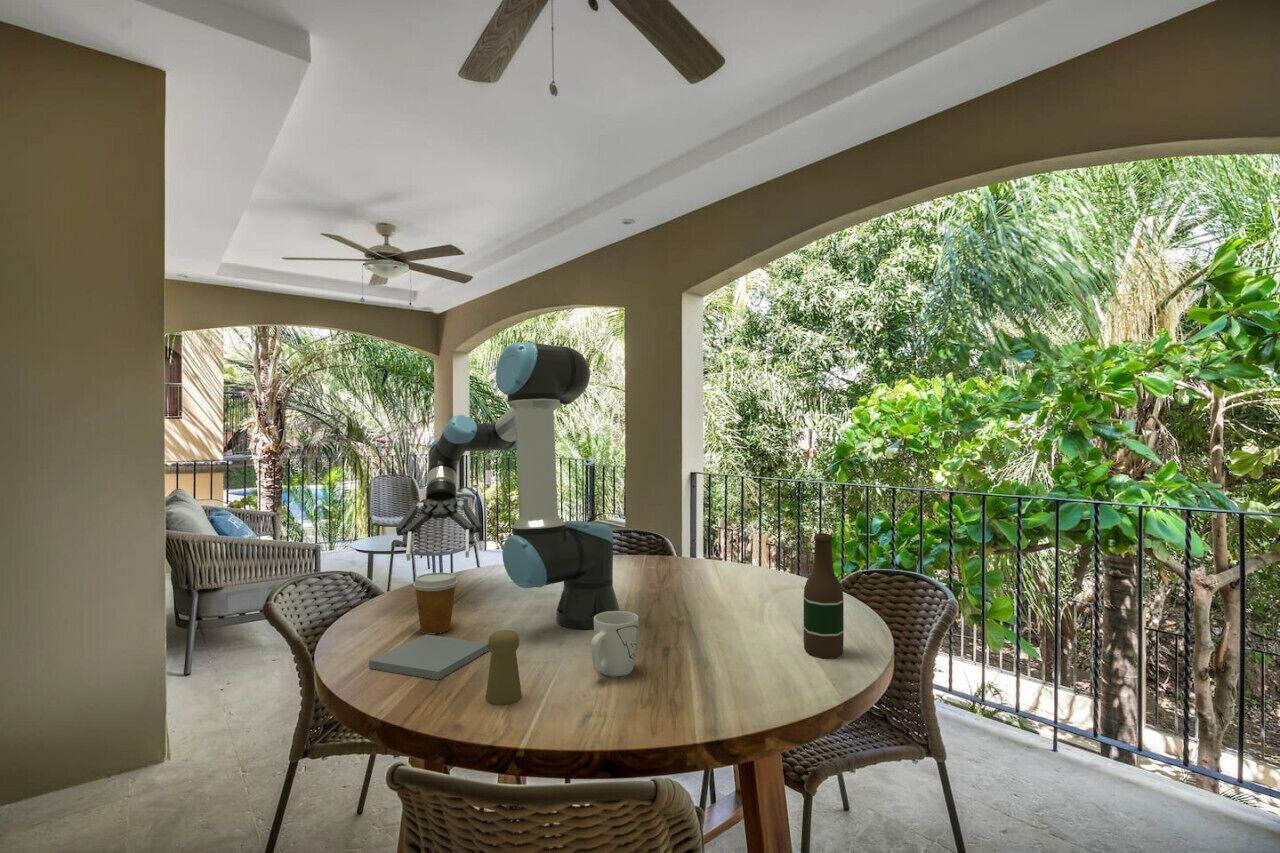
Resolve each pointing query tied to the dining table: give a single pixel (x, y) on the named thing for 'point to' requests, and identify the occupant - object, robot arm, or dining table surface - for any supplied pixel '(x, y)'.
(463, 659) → the slate board
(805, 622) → the beer bottle
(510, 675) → the olive pawn
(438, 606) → the disposable coffee cup
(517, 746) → the dining table surface
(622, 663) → the mug
